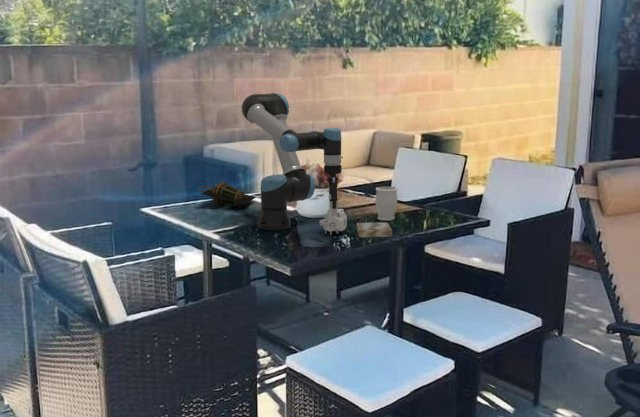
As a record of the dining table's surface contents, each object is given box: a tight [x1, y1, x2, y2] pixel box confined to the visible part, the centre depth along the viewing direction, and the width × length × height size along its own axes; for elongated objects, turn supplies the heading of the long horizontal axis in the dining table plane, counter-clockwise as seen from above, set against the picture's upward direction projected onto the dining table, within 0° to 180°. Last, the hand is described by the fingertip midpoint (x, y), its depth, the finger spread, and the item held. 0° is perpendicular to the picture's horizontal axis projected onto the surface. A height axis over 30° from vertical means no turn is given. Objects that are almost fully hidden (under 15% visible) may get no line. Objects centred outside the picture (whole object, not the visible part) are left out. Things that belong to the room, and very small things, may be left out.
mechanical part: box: [319, 208, 348, 236], centre depth 294 cm, size 11×12×12 cm
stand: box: [356, 221, 393, 238], centre depth 295 cm, size 14×14×3 cm
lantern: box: [198, 179, 257, 208], centre depth 354 cm, size 14×23×30 cm
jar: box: [374, 186, 398, 222], centre depth 320 cm, size 11×10×15 cm
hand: (333, 212), depth 293 cm, fingers open, 13 cm apart
